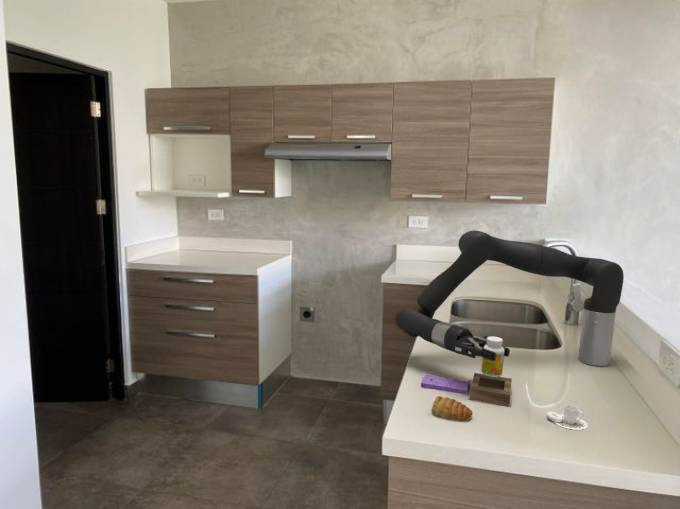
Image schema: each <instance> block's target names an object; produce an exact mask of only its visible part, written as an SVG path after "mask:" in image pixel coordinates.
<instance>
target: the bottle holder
mask: <svg viewBox="0 0 680 509" xmlns="http://www.w3.org/2000/svg"><path fill="white" fill-rule="evenodd" d="M512 380H513V379H512V377H511V378H510V377H503V376H500V377H490V376H486V375H484V374H483V373H480V372H479V373H478V372H474V374H473V377H472V381H471V384H470V388H469V400H470V401H477V402H481V403H489V404H494V405H499V406H504V407H510V404H511V395H512V393H511V392H512V382H513V381H512Z"/></svg>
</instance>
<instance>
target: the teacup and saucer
mask: <svg viewBox="0 0 680 509" xmlns="http://www.w3.org/2000/svg"><path fill="white" fill-rule="evenodd" d="M579 413H581V416H580V417H578V416H579ZM546 416H547V419H549V420H550V421H552V422H553V423H554V424H555V425H557V426H559V427H560V428H564V429H566V430H567V429H568V430H571V429H572V430H573V431H583V430H586V429H588V427H589V425H588V422H586V421H585V420H584V419H583V417H584V412H583V411H582V410H579V408H578V406H576V405H572V404H565V405H564V406H563V413H560V414H559V413H557V412H555V411H548V412H547V413H546ZM562 416H564V417H562ZM563 421H564V422H565V423H566V424H568V423H569V425H574V424H575V423H578V422H580V421H581V422H582V423H584V425H583V426H584V427H582V426H580V427H581V428H579V427H571V428H569V427H570V426H567V427H565V426H566V425H564V426H562V425H563V424H562V425H560V424H561V423H562V422H563ZM558 422H559V423H560V424H559V423H558ZM581 422H580V423H581ZM582 423H581V424H582ZM582 429H583V430H582Z"/></svg>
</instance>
